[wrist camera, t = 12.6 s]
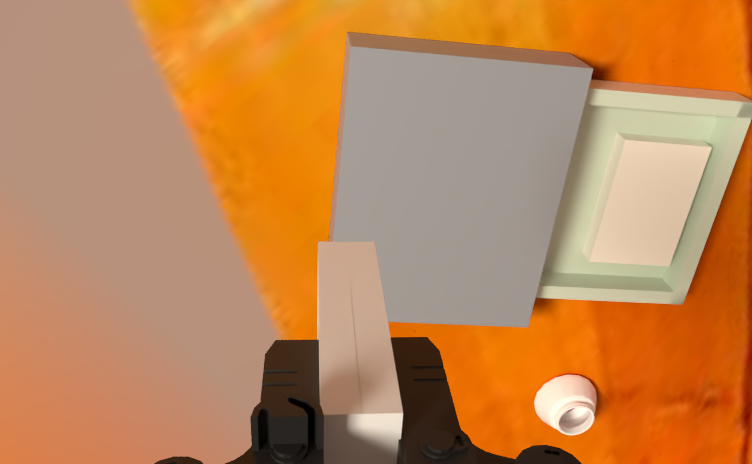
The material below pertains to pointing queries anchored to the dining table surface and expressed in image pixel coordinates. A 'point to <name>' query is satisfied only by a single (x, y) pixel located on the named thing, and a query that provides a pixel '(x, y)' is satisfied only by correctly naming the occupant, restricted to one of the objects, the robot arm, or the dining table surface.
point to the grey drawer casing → (454, 171)
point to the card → (645, 199)
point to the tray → (586, 173)
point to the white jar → (567, 404)
